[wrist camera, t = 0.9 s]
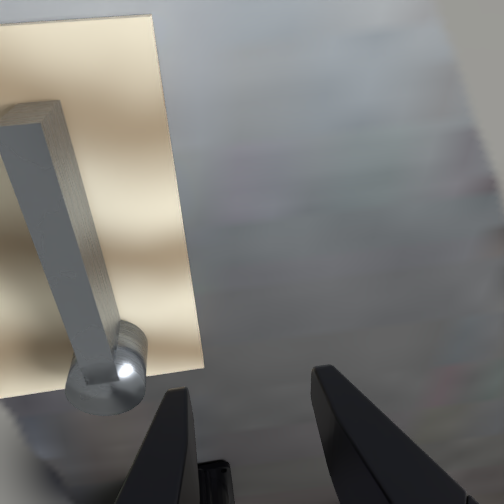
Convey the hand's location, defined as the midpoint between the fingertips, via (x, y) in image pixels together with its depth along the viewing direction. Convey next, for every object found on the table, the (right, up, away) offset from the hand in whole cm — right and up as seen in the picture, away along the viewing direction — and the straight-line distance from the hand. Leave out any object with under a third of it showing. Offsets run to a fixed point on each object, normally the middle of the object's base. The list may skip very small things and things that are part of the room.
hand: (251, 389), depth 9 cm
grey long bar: (-8, +2, +11) cm, 14 cm away
